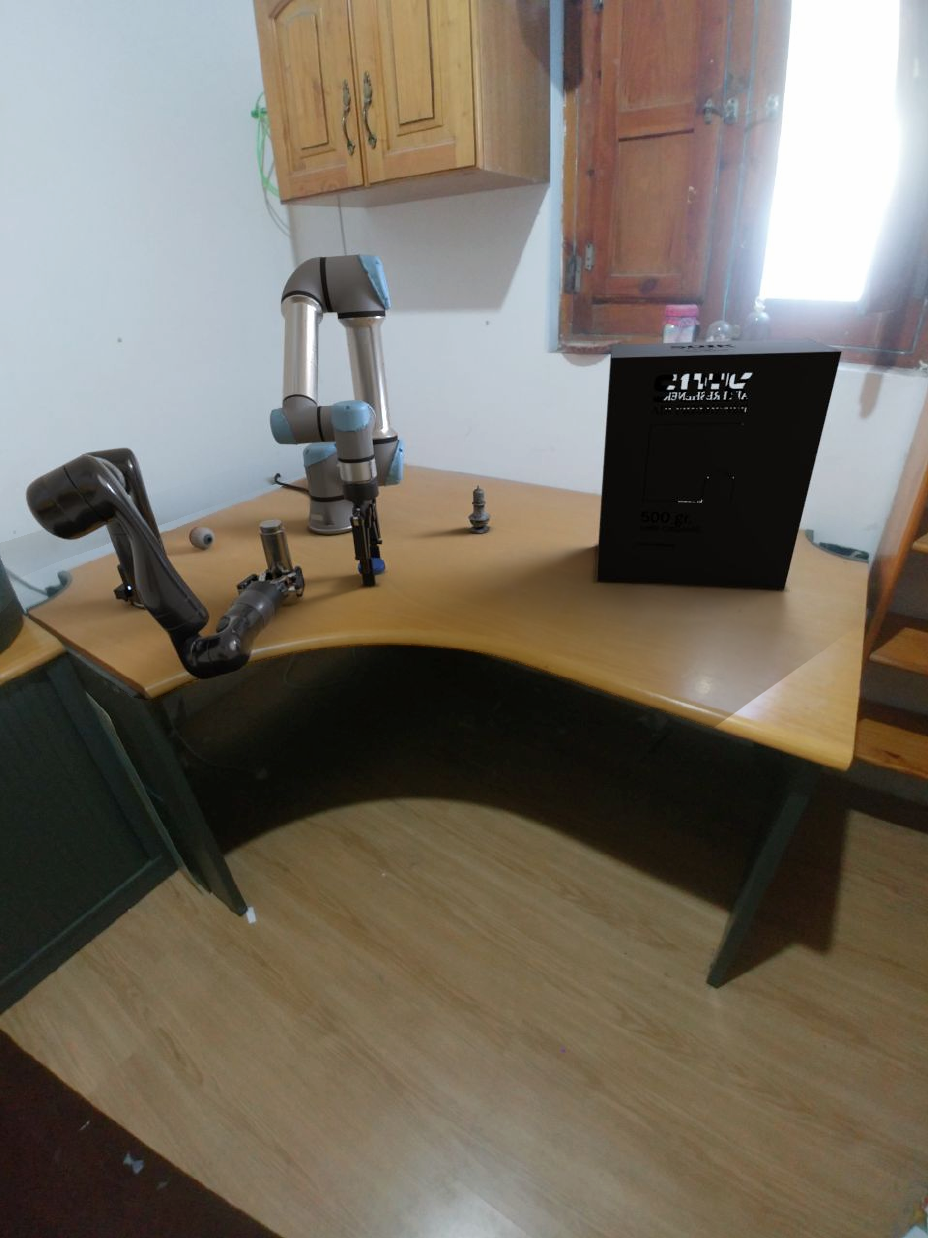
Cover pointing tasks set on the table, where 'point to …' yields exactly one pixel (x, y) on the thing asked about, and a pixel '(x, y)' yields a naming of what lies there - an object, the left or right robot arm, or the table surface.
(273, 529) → the bottle
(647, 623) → the table surface
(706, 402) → the cardboard box
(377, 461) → the right robot arm
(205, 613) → the left robot arm
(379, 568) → the lid
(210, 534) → the eyeball
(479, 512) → the grey tall turned piece
